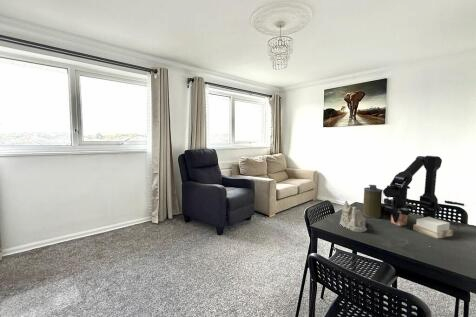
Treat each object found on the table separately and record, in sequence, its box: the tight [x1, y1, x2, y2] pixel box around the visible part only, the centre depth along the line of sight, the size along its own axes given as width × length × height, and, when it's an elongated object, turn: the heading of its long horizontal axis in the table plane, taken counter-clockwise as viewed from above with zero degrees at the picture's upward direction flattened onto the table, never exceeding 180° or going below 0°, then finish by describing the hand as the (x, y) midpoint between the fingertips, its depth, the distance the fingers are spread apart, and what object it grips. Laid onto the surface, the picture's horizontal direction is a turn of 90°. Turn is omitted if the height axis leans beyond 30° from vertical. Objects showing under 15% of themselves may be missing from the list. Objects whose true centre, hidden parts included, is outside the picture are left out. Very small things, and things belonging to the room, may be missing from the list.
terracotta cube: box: [390, 212, 408, 227], centre depth 139 cm, size 6×6×6 cm
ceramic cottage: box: [339, 200, 368, 233], centre depth 135 cm, size 16×16×15 cm
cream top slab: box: [415, 217, 451, 232], centre depth 126 cm, size 10×10×4 cm
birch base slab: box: [412, 223, 454, 239], centre depth 127 cm, size 12×12×4 cm
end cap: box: [380, 202, 395, 217], centre depth 155 cm, size 10×7×7 cm
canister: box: [361, 184, 384, 219], centre depth 152 cm, size 11×10×20 cm
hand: (398, 221), depth 139 cm, fingers closed on terracotta cube, 5 cm apart
